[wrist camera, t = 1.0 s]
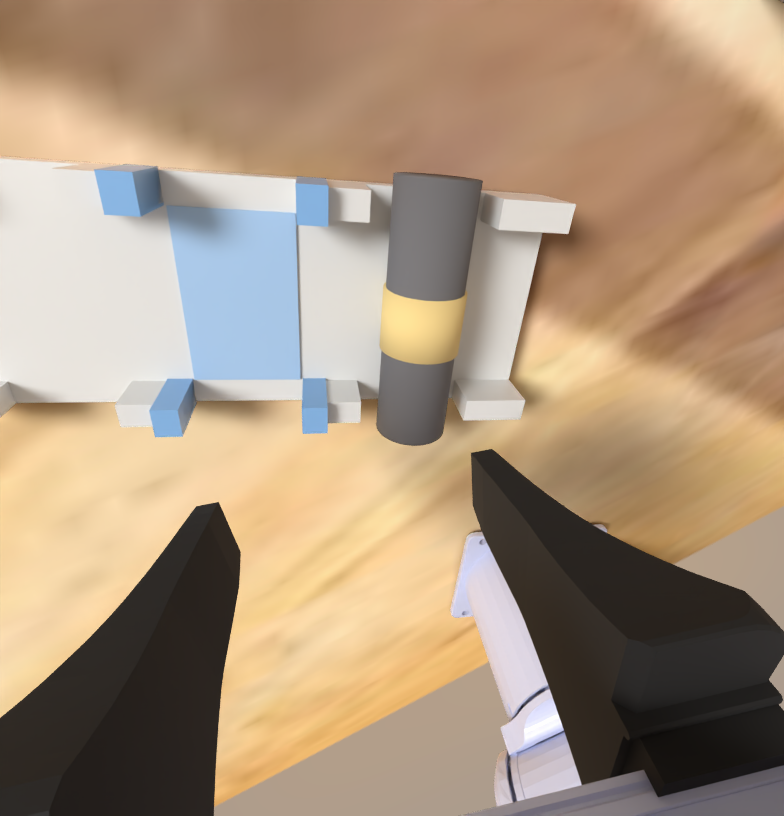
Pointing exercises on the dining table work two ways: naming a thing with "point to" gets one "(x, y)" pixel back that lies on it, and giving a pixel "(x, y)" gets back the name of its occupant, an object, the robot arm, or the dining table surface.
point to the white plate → (233, 291)
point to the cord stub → (424, 301)
